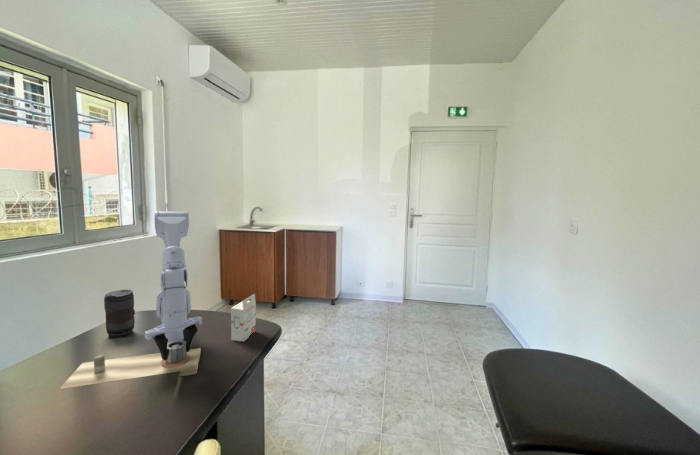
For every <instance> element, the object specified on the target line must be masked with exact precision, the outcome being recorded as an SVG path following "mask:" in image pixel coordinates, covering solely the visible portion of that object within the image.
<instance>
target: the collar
mask: <svg viewBox="0 0 700 455" xmlns="http://www.w3.org/2000/svg"><path fill="white" fill-rule="evenodd" d="M173 345H180V346H179V347H175V348H171V347H172V346H173ZM186 356H187V342H186V341H184V339H182V340H175V341H172V342H168V343H167V360H165V361H166V362H168V363H175V362H179V361H182V360H183V359H185V358H186Z"/></svg>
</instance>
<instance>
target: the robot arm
mask: <svg viewBox="0 0 700 455" xmlns="http://www.w3.org/2000/svg"><path fill="white" fill-rule="evenodd" d="M189 216H190V214H189V212H188V211H187V210H184V211H165V210H163V211H159V210H156V211H155V212H154V230H155V235H156V238H157V237H158V238H160V239H162V240H163V243H164V244H165V245H164V246H165V249H164V250H163V251H162V253H161V258H162V260H161V262H162V263H161V264H162V266H161V267H162V270H161V271H160V287H161V288H160V289H161V290H160V291H159V292H158V293H157V295H156V300H155V301H156V302H155V306H156V308H155V309H156V313H155V314H156V317H157V318H160V320H161V321H160V322H161V325H157V326H156V327H154V328H151V329H149V330H145V331H144V338H145V340H146V341H150V340H152V339H153V341H154V342H155V345H157V348H158V350H159V353H161V357H162V359H163V360H167V343H169V342H172V341H175V340H184V341H186V342H187V352H189V350H190V349H191V345H192V342H193V340H194V338H195V336H196V334H197V332H198V327H197V325H199V326H200V325H203V317H201V316H199V315H198V316H194V317H189V318H188V317H187V316H188V314H190V312H191V309H192V303H191V300H192V299H191V293H190V290H189V289H187V288H188V285H189V284H188V283H189V278H188V277H189V273H188V269H187V264H186V260H185V258H186V257H185V250H184V249H183V248H181V247H180V243H181V240H182V238H185V237H187V236H188V233H189V228H190V226H189V225H190V218H189Z"/></svg>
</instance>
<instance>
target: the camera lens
mask: <svg viewBox="0 0 700 455" xmlns="http://www.w3.org/2000/svg"><path fill="white" fill-rule="evenodd" d="M103 302H104V303H103V304H104V305H103V306H104V312H105V328H106V329H105V330H106V333H107V334H108V338H109V339H113V340H114V339H122V338H127V337H129V336H132V334H133V333H134V332H133V331H134V329H135V323H136V321H135V320H136V319H135V314H136V310H135V309H134V306H135V296H134V292H133V290H131V289H119V290H113V291H109V292H107V293H105V294H104V299H103Z"/></svg>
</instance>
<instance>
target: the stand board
mask: <svg viewBox="0 0 700 455" xmlns="http://www.w3.org/2000/svg"><path fill="white" fill-rule="evenodd" d="M179 346H180V345H173V346H172V347H171V348H175V347H179ZM201 354H202V348H201V347H196V348H190V350H189V352H187V356H186V358H185V359H183V360H182V361H179V362H175V363H168V362H166V361H165V360H163V359H162V357H161V353H160V352H157V353H150V354H141V355H132V356H126V357H125V356H123V357H116V358H111V359H106V358H105V355H104V354H100V355H96V356H94V358H93V361H85V362H82V363H80V364H79V366H78V367H77V369H75V371H73V373H72V374H71V375H70V376H69V377H68V378H67V380H66V381H65V382H64V383H63V384H62V385H61V387H59V390H65V389H71V388H77V387H83V386H88V385H89V386H90V385H91V386H92V385H97V384H98V385H99V384H104V383H110V382H116V381H124V380H130V379H132V380H133V379H137V378H144V377H150V376H151V377H153V376H158V375H164V374H171V373H177V372H178V373H179V374H178V377H183V376H191V375H197V372H198V368H199V365H200V364H199V363H200V358H201Z"/></svg>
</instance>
